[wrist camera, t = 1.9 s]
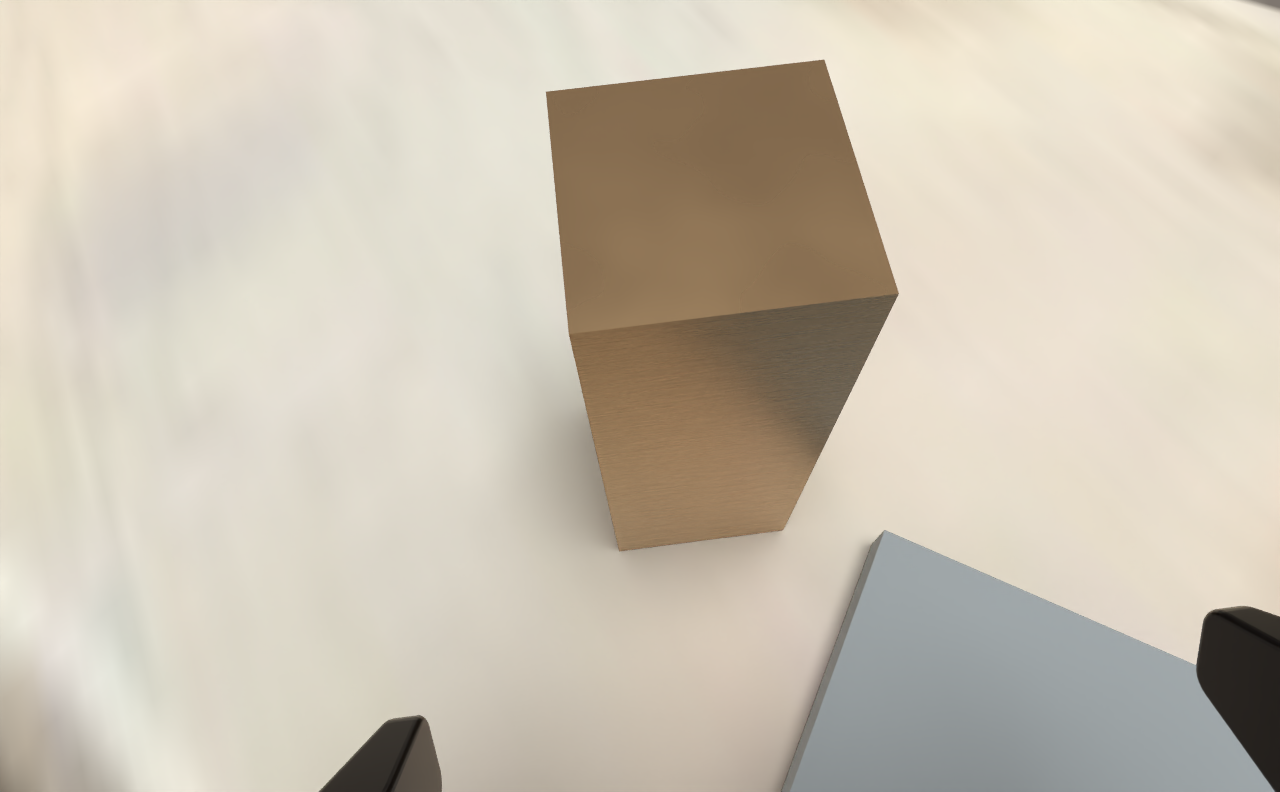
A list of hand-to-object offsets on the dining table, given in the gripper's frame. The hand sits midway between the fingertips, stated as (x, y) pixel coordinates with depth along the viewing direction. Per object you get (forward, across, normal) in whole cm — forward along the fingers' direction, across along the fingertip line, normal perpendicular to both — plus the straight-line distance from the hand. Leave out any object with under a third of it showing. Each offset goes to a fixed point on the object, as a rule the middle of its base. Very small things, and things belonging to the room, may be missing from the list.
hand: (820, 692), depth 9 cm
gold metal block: (+15, 0, +4) cm, 16 cm away
